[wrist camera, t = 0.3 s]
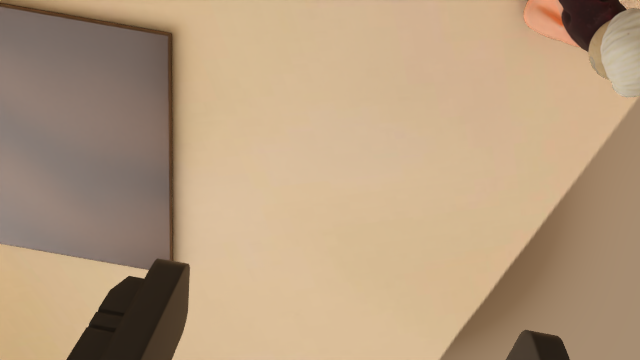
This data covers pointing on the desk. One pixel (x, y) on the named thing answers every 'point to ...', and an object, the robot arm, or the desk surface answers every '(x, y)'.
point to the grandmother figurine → (595, 35)
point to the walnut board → (85, 137)
